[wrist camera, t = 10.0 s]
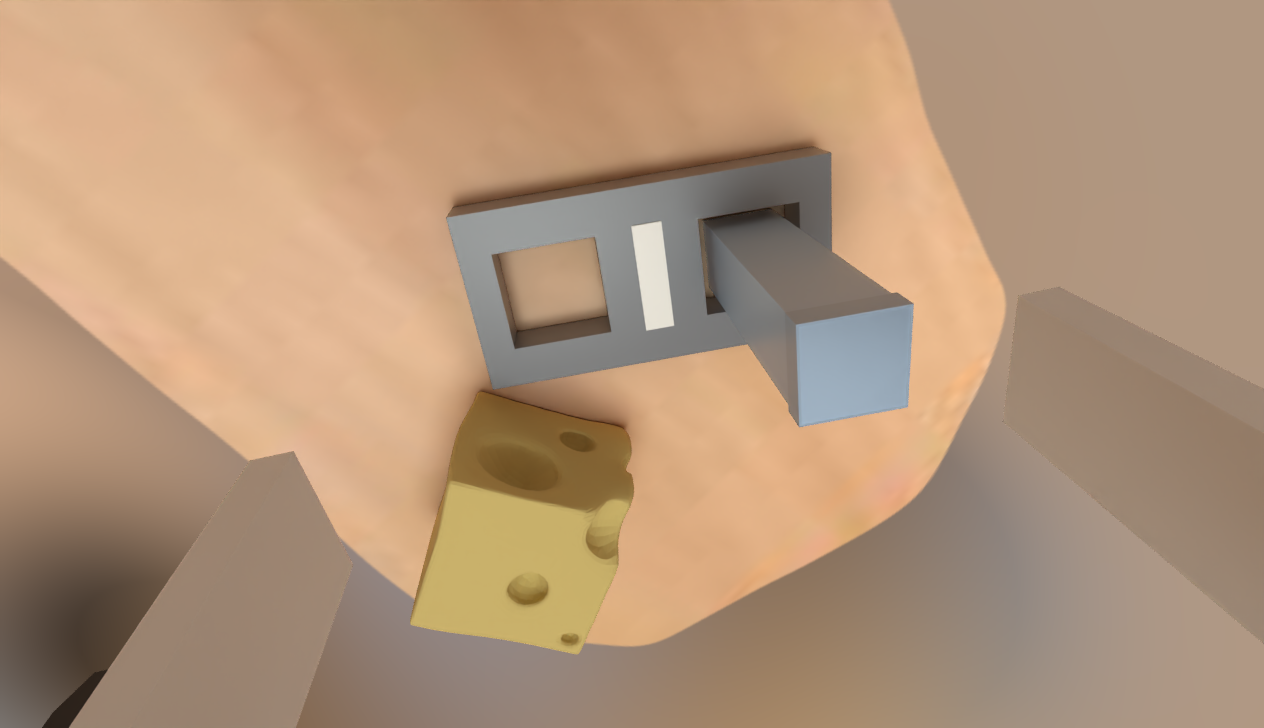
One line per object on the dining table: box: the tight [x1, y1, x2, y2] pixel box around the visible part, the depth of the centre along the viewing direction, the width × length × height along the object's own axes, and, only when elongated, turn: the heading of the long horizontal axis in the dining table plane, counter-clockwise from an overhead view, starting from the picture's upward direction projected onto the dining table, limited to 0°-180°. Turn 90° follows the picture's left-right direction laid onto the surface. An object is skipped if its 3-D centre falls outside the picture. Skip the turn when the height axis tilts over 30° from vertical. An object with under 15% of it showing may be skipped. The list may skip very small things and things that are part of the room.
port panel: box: [446, 147, 832, 390], centre depth 36 cm, size 10×20×3 cm, turn 98°
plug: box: [703, 209, 914, 427], centre depth 30 cm, size 4×4×16 cm
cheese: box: [410, 392, 634, 654], centre depth 38 cm, size 10×11×10 cm
